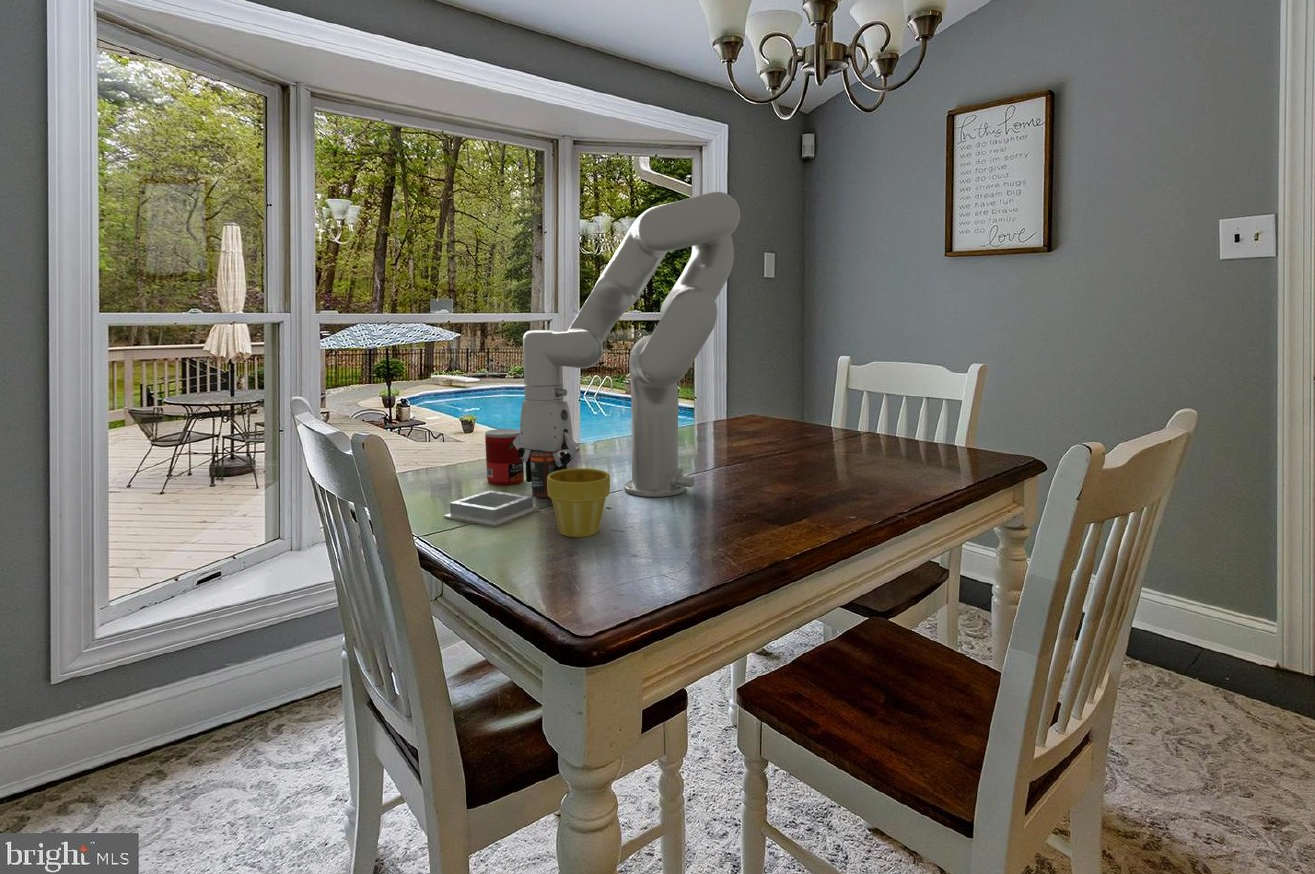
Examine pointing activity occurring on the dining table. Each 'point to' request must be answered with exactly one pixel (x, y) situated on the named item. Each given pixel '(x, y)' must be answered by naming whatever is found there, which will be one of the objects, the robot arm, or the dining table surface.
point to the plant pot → (578, 499)
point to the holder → (491, 508)
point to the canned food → (503, 458)
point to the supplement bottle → (541, 471)
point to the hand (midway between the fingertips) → (546, 482)
